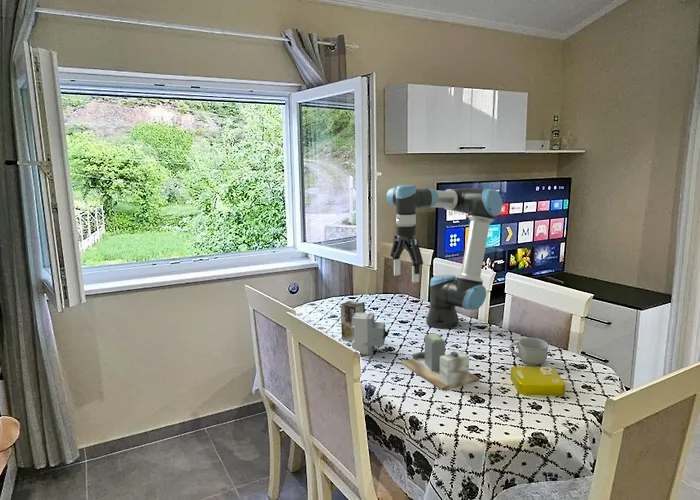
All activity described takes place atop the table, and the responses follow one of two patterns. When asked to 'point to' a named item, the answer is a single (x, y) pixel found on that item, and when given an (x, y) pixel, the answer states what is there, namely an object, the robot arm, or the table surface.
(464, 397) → the table surface
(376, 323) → the circuit breaker
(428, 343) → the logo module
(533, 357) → the teacup
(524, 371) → the element tile
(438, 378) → the rail plate
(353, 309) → the coffee box
